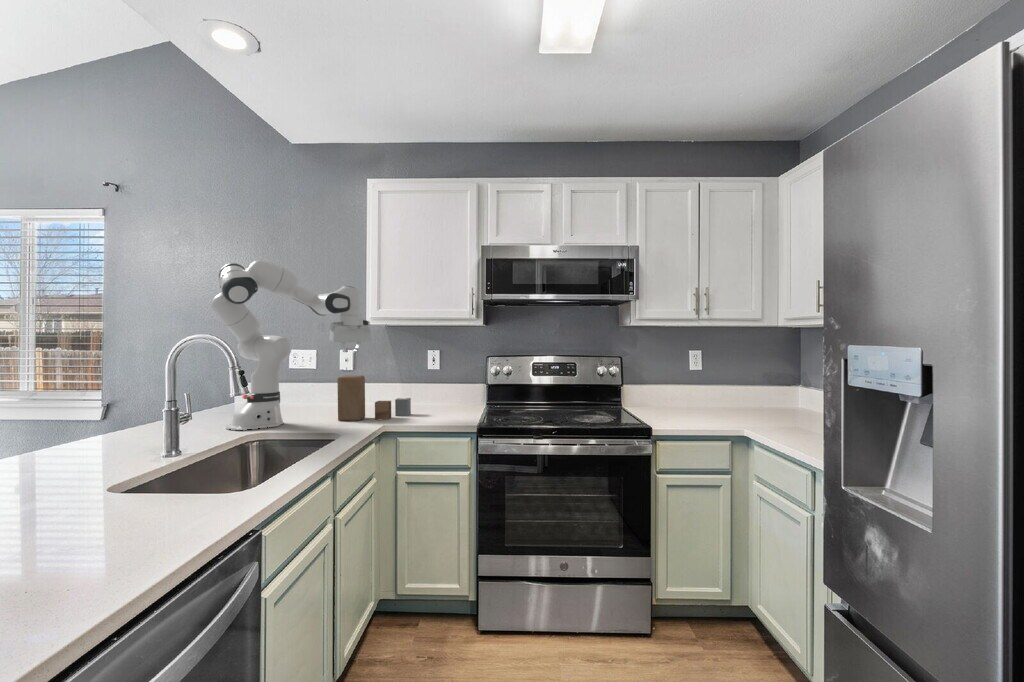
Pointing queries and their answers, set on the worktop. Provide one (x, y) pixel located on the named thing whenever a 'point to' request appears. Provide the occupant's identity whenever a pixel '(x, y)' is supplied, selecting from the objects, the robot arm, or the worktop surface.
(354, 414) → the block
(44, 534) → the worktop surface
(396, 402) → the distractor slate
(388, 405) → the brown upright block
